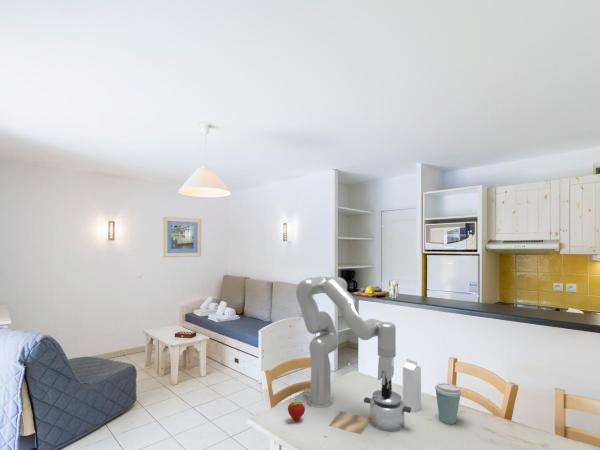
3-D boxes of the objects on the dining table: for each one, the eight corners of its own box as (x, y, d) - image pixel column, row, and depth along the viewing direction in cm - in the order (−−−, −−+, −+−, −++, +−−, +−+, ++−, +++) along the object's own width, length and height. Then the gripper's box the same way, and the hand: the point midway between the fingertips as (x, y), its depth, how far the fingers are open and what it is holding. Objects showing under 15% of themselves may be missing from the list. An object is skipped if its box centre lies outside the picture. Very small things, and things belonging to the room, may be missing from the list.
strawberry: (305, 425, 143) (305, 401, 143) (287, 425, 142) (287, 401, 143) (304, 418, 148) (304, 394, 149) (287, 418, 148) (287, 394, 149)
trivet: (328, 426, 142) (328, 425, 142) (340, 412, 154) (340, 410, 154) (361, 435, 135) (361, 434, 135) (371, 419, 147) (370, 418, 147)
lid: (369, 401, 142) (369, 386, 143) (376, 390, 153) (376, 376, 153) (398, 407, 137) (398, 392, 137) (403, 395, 147) (403, 381, 148)
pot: (359, 425, 143) (359, 403, 143) (369, 411, 155) (369, 391, 155) (407, 438, 133) (407, 415, 134) (413, 422, 146) (413, 400, 146)
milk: (413, 412, 154) (413, 363, 156) (402, 407, 159) (402, 359, 160) (421, 408, 158) (421, 360, 159) (410, 403, 163) (410, 357, 164)
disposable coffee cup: (434, 412, 154) (434, 379, 155) (460, 416, 151) (460, 382, 152) (435, 424, 144) (435, 388, 145) (463, 429, 141) (462, 392, 142)
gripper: (382, 345, 155) (382, 386, 154) (372, 355, 140) (372, 401, 139) (399, 348, 151) (399, 389, 150) (391, 359, 137) (391, 405, 136)
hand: (386, 394), depth 145 cm, fingers closed on lid, 3 cm apart
